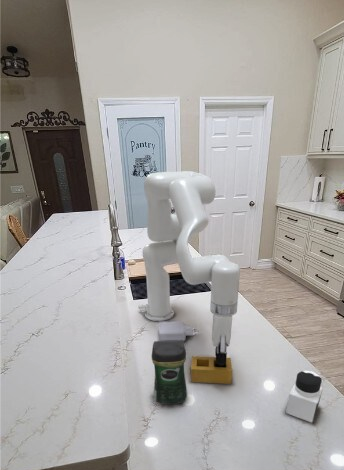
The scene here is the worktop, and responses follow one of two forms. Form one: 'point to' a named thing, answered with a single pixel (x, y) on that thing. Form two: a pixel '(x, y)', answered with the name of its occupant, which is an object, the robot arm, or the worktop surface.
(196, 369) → the ochre block
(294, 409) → the medicine bottle
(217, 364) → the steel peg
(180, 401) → the coffee jar
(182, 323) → the charger
